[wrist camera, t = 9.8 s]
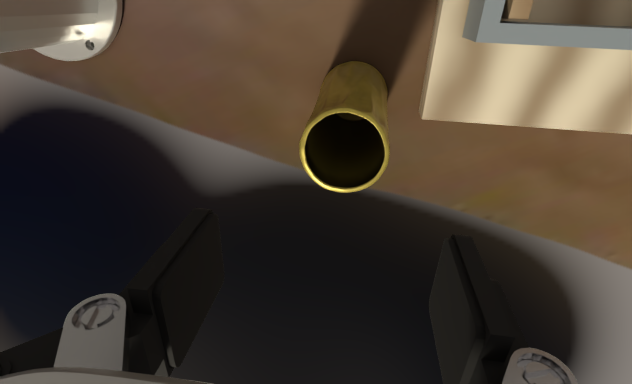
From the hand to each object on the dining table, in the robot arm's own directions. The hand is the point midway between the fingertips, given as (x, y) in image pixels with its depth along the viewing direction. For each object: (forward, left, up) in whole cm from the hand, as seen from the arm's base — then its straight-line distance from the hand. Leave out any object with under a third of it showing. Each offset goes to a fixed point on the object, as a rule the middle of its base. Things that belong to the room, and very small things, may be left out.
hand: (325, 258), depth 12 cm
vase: (0, 0, -24) cm, 24 cm away
